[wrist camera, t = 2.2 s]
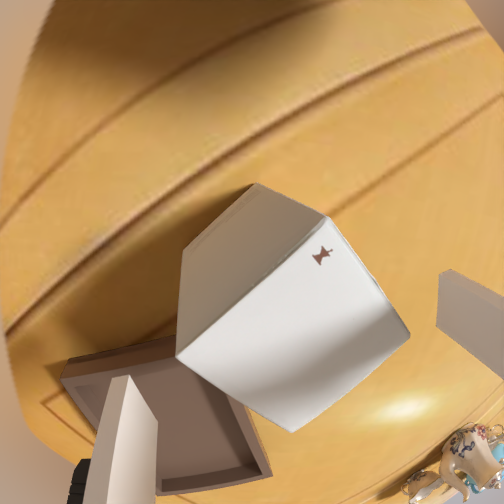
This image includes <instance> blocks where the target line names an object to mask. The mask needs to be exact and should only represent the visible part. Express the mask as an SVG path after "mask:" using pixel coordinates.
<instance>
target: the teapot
mask: <svg viewBox="0 0 504 504" xmlns="http://www.w3.org/2000/svg"><path fill="white" fill-rule="evenodd" d="M491 453H492V455H493V457H494V458H495V459H496V460H497V462H498V463H499V461H500V459H501V458H504V444H501V443H500V444H497V446H496V447H495V449H494V450H492V451H491ZM503 463H504V462H503ZM503 463H502V464H503ZM503 473H504V471H503V472H502V475H503ZM466 478H467V480H466V481H465V484H466V486H469V485H471V489H472V491H473V492H474V493H475V494H478V493H481V492H482V491H483V490H484V489H483V490H482V491H480V492H479V491H477V490H476V489H475V487H474V485H476V486H477V484H476V483H475V481H474V480H473V479H472V478H471V477H470V476H469V475H468V474H467V475H466ZM503 479H504V476H502V479H501V481H502V480H503ZM468 481H469V484H467V482H468ZM501 481H500V482H501Z"/></svg>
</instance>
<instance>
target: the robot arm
mask: <svg viewBox="0 0 504 504" xmlns="http://www.w3.org/2000/svg"><path fill="white" fill-rule="evenodd" d="M436 327H437V328H439V329H440V330H441V331H443V332H444V333H445V334H447V335H448V336H449V337H451V338H452V339H453V340H454V341H456V342H457V343H458V344H460V345H461V346H462V347H463V348H465V349H466V350H467V351H468V352H470V353H471V354H472V355H474V356H475V357H476V358H477V359H479V360H480V361H481V362H482V363H484V364H485V365H486V366H487V367H488V368H490V369H491V370H492V371H493V372H495V373H496V374H497V375H498V376H500V377H501V378H502V379H503V380H504V297H503V296H501V295H499V294H497V293H496V292H494V291H492V290H490V289H488V288H486V287H484V286H482V285H481V284H479V283H477V282H475V281H473V280H471V279H469V278H467V277H465V276H463V275H461V274H459V273H457V272H455V271H454V270H452V269H449V270H447V271H445V272H443V273H441V274H439V288H438V307H437V321H436ZM157 432H158V421H157V419H156V418H155V416H154V415H153V413H152V412H151V410H150V409H149V407H148V405H147V404H146V402H145V400H144V399H143V397H142V395H141V394H140V392H139V390H138V389H137V387H136V385H135V384H134V382H133V380H132V378H131V377H130V375H125V376H120V377H114V378H112V380H111V383H110V387H109V390H108V394H107V397H106V401H105V405H104V408H103V412H102V416H101V420H100V424H99V428H98V432H97V436H96V440H95V445H94V449H93V453H92V458H91V459H81V461H80V462H79V464H78V465H77V467H76V468H75V470H74V473H73V477H72V481H71V483H72V485H71V486H70V491H69V493H70V495H68V500H67V504H155V485H156V452H157Z"/></svg>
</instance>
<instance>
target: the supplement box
mask: <svg viewBox="0 0 504 504" xmlns="http://www.w3.org/2000/svg"><path fill="white" fill-rule="evenodd" d="M409 338H410V332H409V330H408V329H407V327H406V325H405V324H404V322H403V321H402V319H401V318H400V316H399V315H398V313H397V312H396V310H395V309H394V307H393V306H392V304H391V303H390V301H389V300H388V298H387V297H386V295H385V294H384V292H383V291H382V289H381V287H380V286H379V284H378V283H377V281H376V280H375V278H374V277H373V276H372V275H371V274H370V272H369V271H368V270H367V268H366V267H365V265H364V264H363V263H362V261H361V260H360V258H359V257H358V256H357V254H356V253H355V251H354V250H353V249H352V247H351V246H350V244H349V243H348V242H347V240H346V239H345V238H344V236H343V235H342V234H341V232H340V231H339V230H338V228H337V227H336V226H335V224H334V223H333V221H332V220H331V219H330V217H328V216H326V215H324V214H323V213H321V212H319V211H317V210H314V209H312V208H310V207H308V206H306V205H304V204H302V203H300V202H298V201H296V200H294V199H291V198H289V197H287V196H285V195H283V194H281V193H279V192H276V191H274V190H272V189H270V188H268V187H266V186H264V185H261V184H259V183H255V184H254V185H253V186H251V187H250V188H249V189H248V190H247V191H246V192H245V193H244V194H242V195H241V196H240V197H239V198H238V199H237V200H236V201H235V202H234V203H233V204H232V205H230V206H229V207H228V208H227V209H226V210H225V211H224V212H223V213H222V214H221V215H220V216H219V217H217V218H216V219H215V220H214V221H213V222H212V223H211V224H210V225H209V226H208V227H207V228H206V229H204V230H203V231H202V232H201V233H200V234H199V235H198V236H197V237H196V238H195V239H194V240H193V241H192V242H191V243H190V244H189V245H188V246H187V247H186V248H185V249H184V250H183V253H182V265H181V277H180V289H179V303H178V319H177V336H176V354H175V357H176V358H177V359H178V360H179V361H180V362H182V363H183V364H184V365H186V366H187V367H189V368H190V369H192V370H193V371H194V372H196V373H197V374H198V375H200V376H201V377H203V378H204V379H206V380H207V381H209V382H210V383H211V384H213V385H214V386H216V387H217V388H219V389H220V390H222V391H223V392H225V393H226V394H228V395H229V396H231V397H232V398H234V399H235V400H237V401H239V402H240V403H242V404H243V405H245V406H247V407H248V408H250V409H251V410H253V411H255V412H256V413H258V414H260V415H261V416H263V417H264V418H266V419H268V420H269V421H271V422H273V423H275V424H276V425H278V426H280V427H282V428H283V429H285V430H287V431H288V432H291V433H293V432H295V431H296V430H298V429H299V428H301V427H302V426H304V425H305V424H307V423H308V422H309V421H311V420H312V419H314V418H315V417H317V416H318V415H319V414H321V413H322V412H323V411H325V410H326V409H327V408H329V407H330V406H331V405H333V404H334V403H335V402H337V401H338V400H339V399H340V398H342V397H343V396H344V395H346V394H347V393H348V392H349V391H351V390H352V389H353V388H354V387H355V386H356V385H358V384H359V383H360V382H361V381H362V380H364V379H365V378H366V377H367V376H368V375H369V374H370V373H372V372H373V371H374V370H375V369H376V368H377V367H378V366H379V365H381V364H382V363H383V362H384V361H385V360H386V359H387V358H388V357H389V356H391V355H392V354H393V353H394V352H395V351H396V350H397V349H398V348H399V347H400V346H402V345H403V344H404V343H405V342H406V341H407V340H408V339H409Z"/></svg>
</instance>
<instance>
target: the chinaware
mask: <svg viewBox="0 0 504 504" xmlns="http://www.w3.org/2000/svg"><path fill="white" fill-rule="evenodd" d="M495 426H500V427H502V430H503V431H504V428H503V426H502V425H499V424H497V425H495ZM495 426H494V427H495ZM494 427H493V428H494ZM493 428H492V429H490V428H488V429H487V430H486V428H485V426H484V425H483V424H474V423H473V422H470V423H467V424H465V425H464V426H462V427H461V428H460V429H459V430H457V431H456V432H455V433H454V434H453V435H452V436H451V437H450V438H449V439H448V440H447V441H446V443H445V444H444V445H443V447H442V449H441V452H442V453H443V455H442V459H441V462H440V466H439V474H440V475H439V474H437V473H436V472H433V471H425V472H423V471H424V470H419V471H418V472H416V473H414V474H413V475H412V476H411V477H410V478H409V479H408V480H407V481H408V482H409V483H410V484H409V483H404V484H403V485H405V484H409V487H408V493H406V492H405V491H404V490H403V485H402V486H401V491H402V492H403V493H404V494H405V495H409V504H412V503H414V502H415V501H416V500H422V499H424V498H426V497H427V496H428V495H430V493H431V492H432V491H433V490H434V489H437V488H439V487H440V486H441V485H442V484H443V483H444V481H445V482H446V483H447V484H448V485H450V486H452V487H454V488H455V489H457V490H458V491H460V492H461V493H462V494H463V496H464V499H463V502H465V501H467V500H468V498H469V495H470V491H469V488H468V487H467V486H466V484H465V483H464V482H463V481H462V480H461V479H460V478H459V477H458V476H457V475H456V474H455V472H454V470H456V469H457V470H460V471H463V472H465V473H466V474H468V475H469V476H470V477H471V478H472V479H473V480H474V481H475V483H476V484H477V486H478V489H479V492H480V491H482V490H483V489H485V488H487V489H491V488H493V487H495V489H500V488H501V486H500V485H501V483H499V482H500V481H501V479H502V472H503V471H504V463H503V462H504V458H501V459H500V461H499V463H498V462H497V460H496V459H495V458H494V457H493V455H492V453H491V451H492V450H494V449H495V447H496V446H497V444H498V441H504V438H503V437H504V433H503V431H502V432H498V431H496V430H493ZM502 463H503V464H502Z"/></svg>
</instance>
